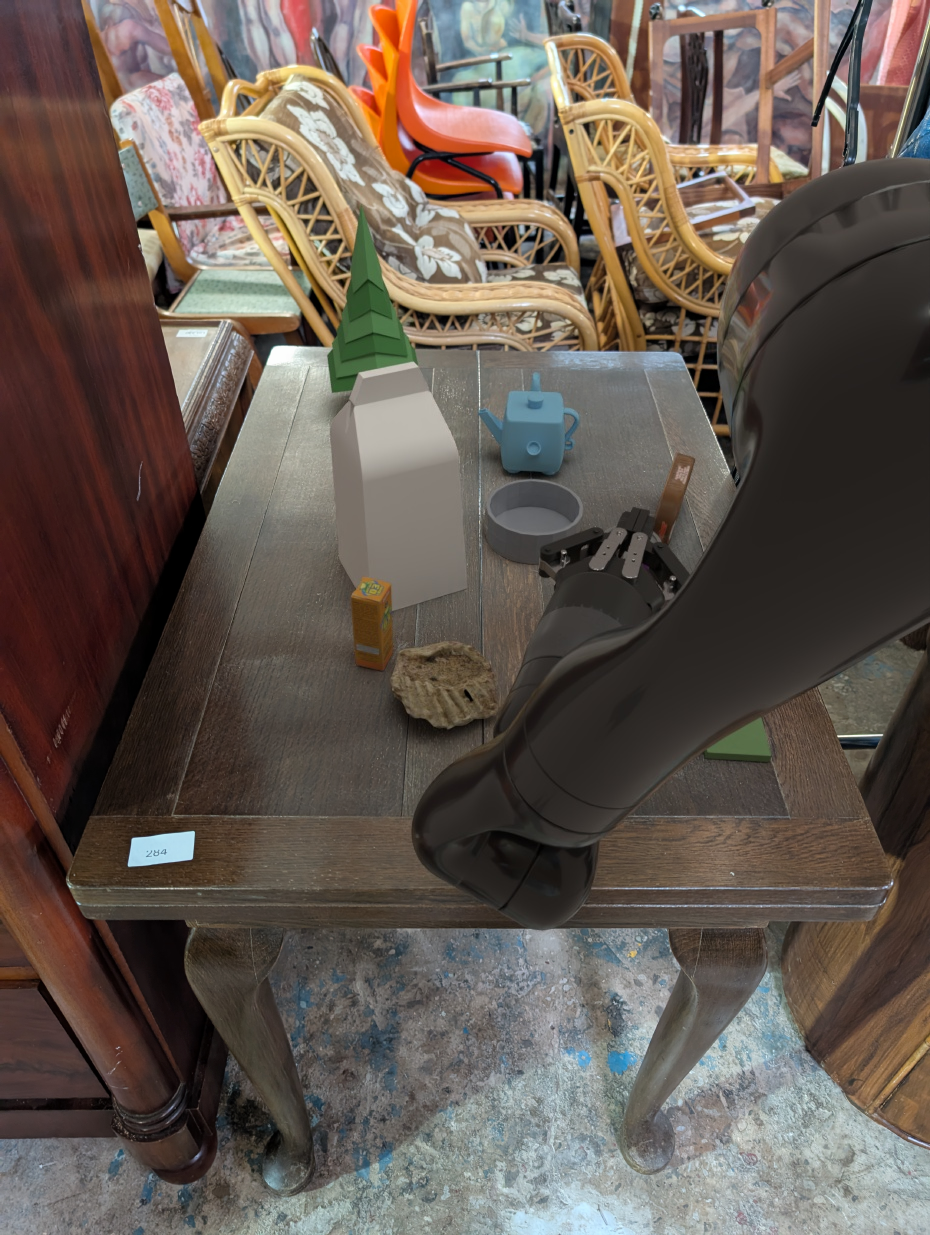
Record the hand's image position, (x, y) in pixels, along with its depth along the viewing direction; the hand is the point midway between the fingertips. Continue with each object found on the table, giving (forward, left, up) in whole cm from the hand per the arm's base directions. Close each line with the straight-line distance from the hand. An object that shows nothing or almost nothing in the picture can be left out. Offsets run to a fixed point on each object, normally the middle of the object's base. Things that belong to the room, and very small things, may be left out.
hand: (639, 517), depth 68 cm
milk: (+26, +12, -22) cm, 36 cm away
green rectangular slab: (-10, -8, -21) cm, 25 cm away
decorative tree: (+65, 0, -22) cm, 69 cm away
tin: (+20, -22, -22) cm, 37 cm away
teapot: (+42, -14, -22) cm, 49 cm away
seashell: (+5, +16, -22) cm, 28 cm away
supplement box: (+14, +20, -22) cm, 33 cm away
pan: (+26, -6, -21) cm, 34 cm away
